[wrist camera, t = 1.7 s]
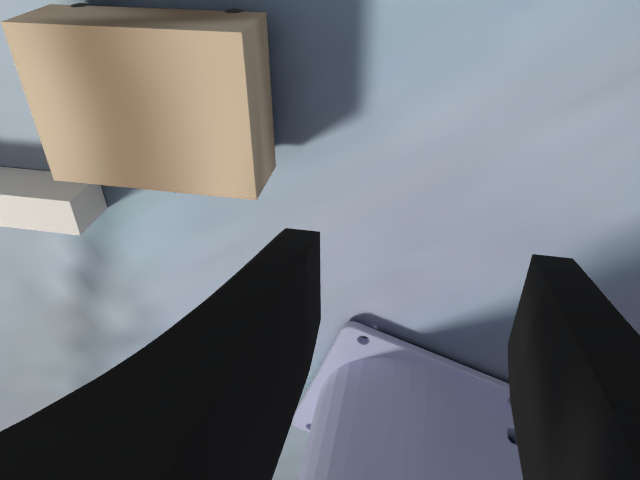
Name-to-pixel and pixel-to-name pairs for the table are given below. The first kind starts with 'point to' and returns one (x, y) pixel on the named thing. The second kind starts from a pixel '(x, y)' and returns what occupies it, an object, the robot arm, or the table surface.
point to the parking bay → (47, 202)
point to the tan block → (149, 96)
